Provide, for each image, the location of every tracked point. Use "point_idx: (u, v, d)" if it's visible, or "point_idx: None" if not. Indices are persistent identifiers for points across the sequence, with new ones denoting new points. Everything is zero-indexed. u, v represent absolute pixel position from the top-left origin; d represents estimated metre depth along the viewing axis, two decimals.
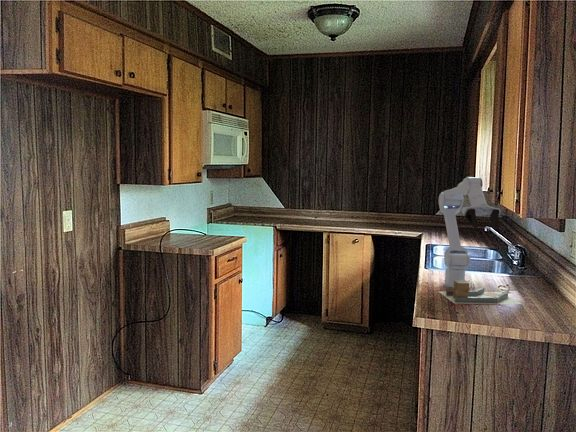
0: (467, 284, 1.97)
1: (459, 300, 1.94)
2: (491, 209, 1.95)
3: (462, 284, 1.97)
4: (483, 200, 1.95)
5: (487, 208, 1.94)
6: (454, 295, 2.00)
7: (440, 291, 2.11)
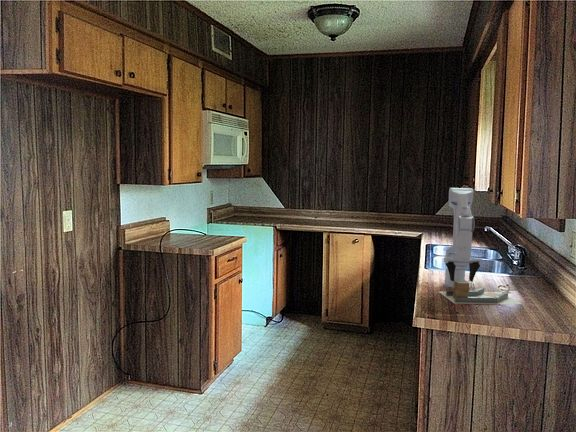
0: (467, 284, 1.97)
1: (459, 300, 1.94)
2: (473, 260, 1.97)
3: (462, 284, 1.97)
4: (468, 253, 1.95)
5: (469, 261, 1.96)
6: (454, 295, 2.00)
7: (440, 291, 2.11)
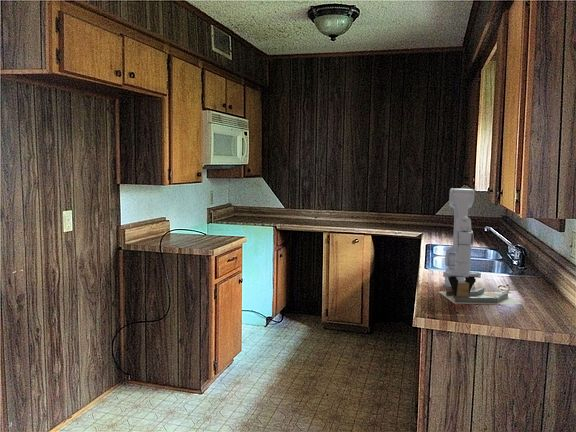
0: (467, 284, 1.97)
1: (459, 300, 1.94)
2: None
3: (462, 284, 1.97)
4: (467, 268, 1.96)
5: (468, 275, 1.97)
6: None
7: (440, 291, 2.11)
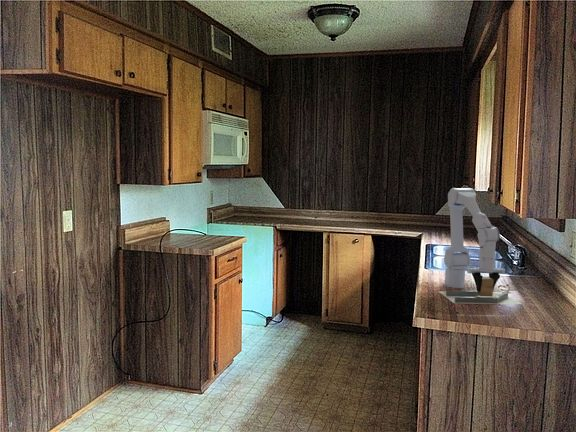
0: (491, 280, 1.97)
1: (459, 300, 1.94)
2: None
3: (486, 280, 1.97)
4: (491, 264, 1.96)
5: (492, 271, 1.97)
6: None
7: (440, 291, 2.11)
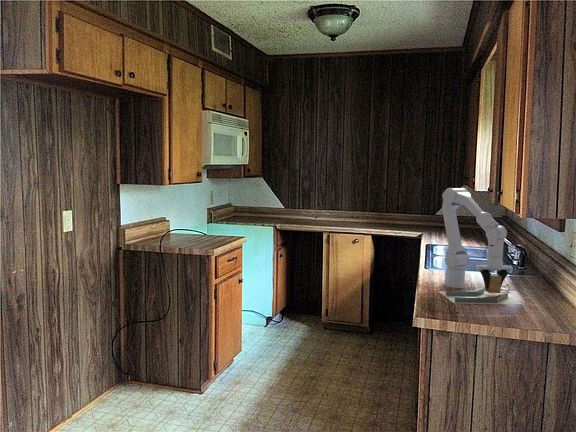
0: (499, 277, 2.03)
1: (459, 300, 1.94)
2: None
3: (495, 277, 2.03)
4: (499, 261, 2.02)
5: (500, 268, 2.03)
6: (486, 288, 2.06)
7: (440, 291, 2.11)
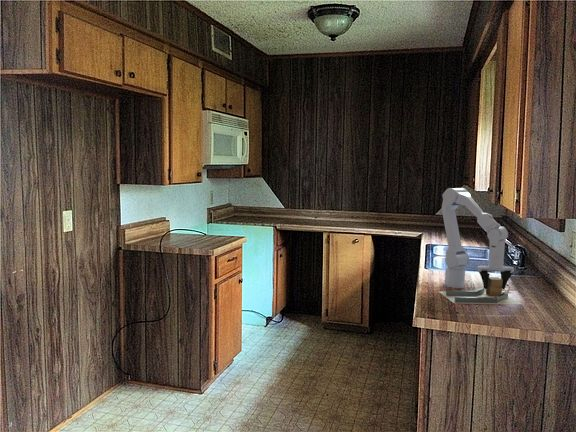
0: (500, 280, 2.04)
1: (459, 300, 1.94)
2: None
3: (496, 280, 2.04)
4: (500, 262, 2.03)
5: (502, 269, 2.04)
6: (487, 291, 2.07)
7: (440, 291, 2.11)
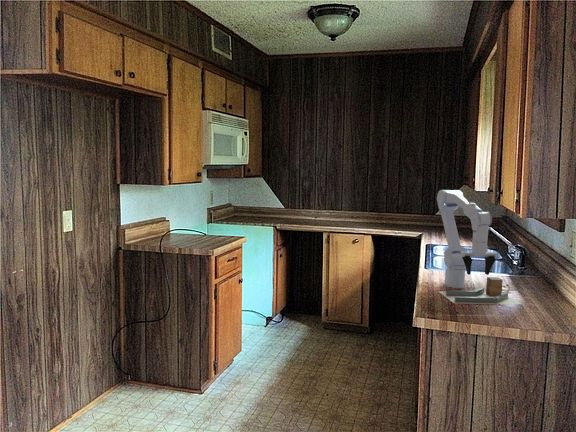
0: (500, 280, 2.04)
1: (459, 300, 1.94)
2: (489, 254, 2.03)
3: (496, 280, 2.04)
4: (484, 247, 2.01)
5: (485, 254, 2.03)
6: (487, 291, 2.07)
7: (440, 291, 2.11)
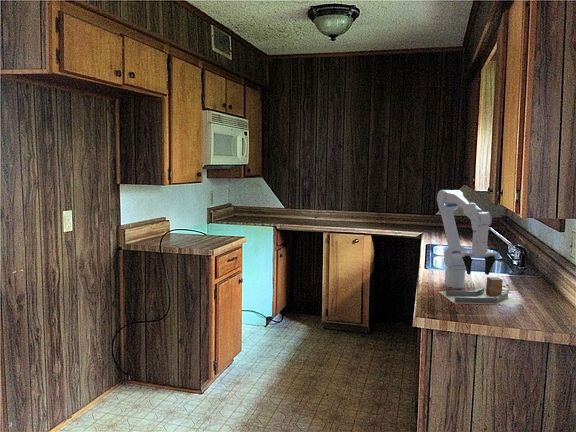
0: (500, 280, 2.04)
1: (459, 300, 1.94)
2: (489, 254, 2.03)
3: (496, 280, 2.04)
4: (484, 247, 2.01)
5: (485, 254, 2.03)
6: (487, 291, 2.07)
7: (440, 291, 2.11)
